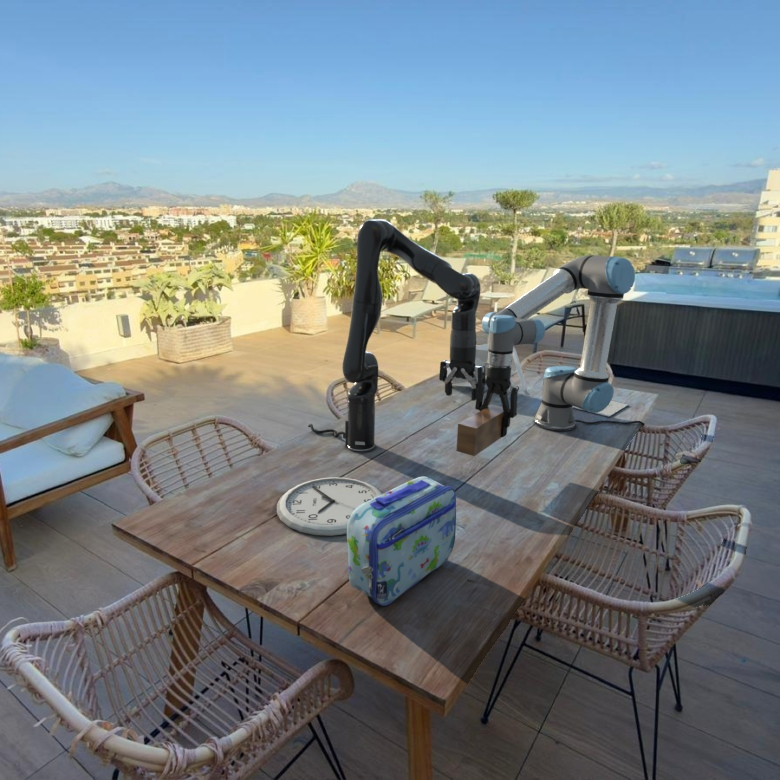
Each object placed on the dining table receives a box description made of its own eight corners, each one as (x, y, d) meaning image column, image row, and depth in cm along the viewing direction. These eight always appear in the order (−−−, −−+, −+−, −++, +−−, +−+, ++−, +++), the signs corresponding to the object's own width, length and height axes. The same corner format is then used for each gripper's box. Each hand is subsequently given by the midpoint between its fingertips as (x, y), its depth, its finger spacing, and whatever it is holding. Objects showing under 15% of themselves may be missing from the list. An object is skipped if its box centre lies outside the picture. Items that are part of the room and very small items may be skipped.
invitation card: (608, 416, 214) (573, 407, 224) (608, 416, 214) (573, 408, 224) (628, 404, 229) (594, 396, 238) (628, 405, 229) (594, 397, 238)
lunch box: (376, 619, 101) (377, 524, 95) (340, 592, 109) (339, 502, 102) (459, 562, 119) (465, 479, 113) (424, 542, 126) (427, 463, 120)
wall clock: (392, 527, 129) (268, 531, 127) (391, 533, 130) (269, 537, 127) (383, 473, 158) (282, 475, 155) (383, 478, 158) (282, 480, 156)
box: (489, 429, 175) (491, 404, 173) (506, 433, 172) (509, 408, 169) (456, 451, 158) (457, 423, 156) (474, 456, 155) (476, 428, 152)
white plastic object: (461, 429, 252) (437, 405, 227) (444, 352, 274) (420, 323, 250) (535, 404, 240) (518, 377, 215) (510, 326, 262) (492, 293, 237)
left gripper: (435, 343, 153) (434, 396, 157) (478, 349, 144) (476, 404, 149) (448, 339, 158) (447, 390, 163) (491, 344, 150) (488, 398, 155)
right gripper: (466, 362, 167) (462, 429, 173) (523, 372, 156) (516, 444, 163) (477, 358, 172) (473, 423, 179) (533, 367, 161) (526, 437, 168)
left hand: (461, 397), depth 156 cm, fingers open, 8 cm apart
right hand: (493, 433), depth 171 cm, fingers closed on box, 6 cm apart
